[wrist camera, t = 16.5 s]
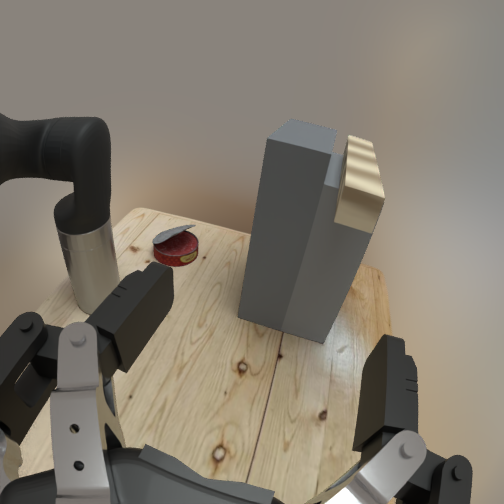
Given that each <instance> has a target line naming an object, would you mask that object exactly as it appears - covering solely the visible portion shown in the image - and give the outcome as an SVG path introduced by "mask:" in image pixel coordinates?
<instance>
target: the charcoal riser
mask: <svg viewBox="0 0 504 504" xmlns="http://www.w3.org/2000/svg"><path fill="white" fill-rule="evenodd" d="M336 133H337V130H334V129H330V128H326V127H322V126H319V125H315V124H311V123H307V122H303V121H299V120H294V119H290V120H289V121H287V122H286V123H285V124H284V125H283V126H281V127H280V128H279V129H278V130H276V131H275V132H274V133H273V134H272V135H270V136H269V137H268V138H267V142H266V148H265V154H264V160H263V166H262V172H261V178H260V184H259V190H258V196H257V203H256V208H255V214H254V220H253V226H252V232H251V238H250V245H249V251H248V257H247V263H246V269H245V275H244V281H243V287H242V293H241V300H240V306H239V312H238V318H241V319H244V320H247V321H250V322H254V323H257V324H260V325H263V326H266V327H269V328H272V329H276V330H279V331H282V332H285V333H289V334H292V335H295V336H299V337H302V338H306V339H309V340H312V341H316V342H319V343H324V341H325V339H326V337H327V335H328V333H329V331H330V329H331V327H332V325H333V323H334V321H335V319H336V317H337V315H338V313H339V310H340V308H341V306H342V304H343V302H344V300H345V297H346V295H347V293H348V291H349V289H350V286H351V284H352V282H353V280H354V277H355V275H356V273H357V270H358V268H359V266H360V263H361V260H362V258H363V256H364V254H365V251H366V249H367V246H368V244H369V241H370V239H371V236H372V234H373V232H372V234H371V233H368V232H365V231H362V230H358V229H355V228H352V227H349V226H346V225H342V224H339V223H336V222H334V219H335V212H336V205H337V198H338V191H339V184H340V176H341V168H342V160H343V155H341V154H337V153H334V152H332V150H333V146H334V142H335V137H336ZM383 205H384V203H383ZM382 207H383V206H382ZM381 210H382V208H381ZM380 213H381V211H380ZM379 216H380V214H379ZM379 216H378V218H379ZM377 221H378V219H377ZM376 223H377V222H376ZM375 226H376V224H375ZM374 229H375V227H374ZM373 231H374V230H373Z"/></svg>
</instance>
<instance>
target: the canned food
mask: <svg viewBox="0 0 504 504" xmlns="http://www.w3.org/2000/svg"><path fill="white" fill-rule="evenodd" d="M193 226H195V225H185V226H180V227H176V228H173V229H169V230H167V231H164V232H161V233H160V234H158V235H157V236H156V237H155V238H154V239H153V245H154V256H155V258H156V260H157V261H159V262H160V263H162V264H164V265H167V266H173V267H179V266H185V265H188V264H190V263H192V262H193V261H194V260H195V259H196V258H197V256H198V243H199V242H198V239H197V237H196V236H195V235H194V234H193V233H191V232H189V231H186V230H187V229H189V228H191V227H193Z"/></svg>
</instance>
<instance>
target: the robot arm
mask: <svg viewBox="0 0 504 504" xmlns="http://www.w3.org/2000/svg"><path fill="white" fill-rule="evenodd" d="M110 168H111V142H110V134H109V129H108V127H107V125H106V123H105V122H104V121H103V120H102V119H100V118H97V117H61V118H53V119H46V120H32V121H17V120H13V119H10V118H8V117H6V116H4V115H3V114H1V113H0V185H1V184H2V183H4V182H5V181H8V180H10V179H15V178H45V179H50V180H58V181H69V182H73V184H74V192H73V193H71V194H69V195H67V196H65V197H64V198H63V199H61V200H60V201H59V202H58V203H57V204H56V206H55V209H54V219H55V223H56V227H57V232H58V236H59V240H60V244H61V248H62V252H63V256H64V259H65V263H66V267H67V271H68V274H69V278H70V281H71V284H72V288H73V291H74V294H75V297H76V300H77V303H78V306H79V307H80V309H81V310H82V311H84V312H85V313H88V314H91V315H90V316H89V318H88V319H87V320H86V321H85V322H75V323H72V324H70V325H68V326H66V327H65V328H61V327H56V326H51V325H46V324H44V321H43V319H42V317H41V316H40V315H39V314H37V313H35V312H26V313H24V314H21V315H19V316H18V317H17V318H16V319H15V320H14V321H13V323H12V324H11V325H10V326H9V327H8V328H7V330H6V331H5V332H4V333H3V335H2V336H1V337H0V504H284V503H283V502H281V501H280V500H278V499H277V498H275V497H273V496H274V493H275V491H272V490H268V489H264V488H260V487H257V486H253V485H250V484H246V483H243V482H233V481H222V480H213V479H207V478H204V477H202V476H201V475H199V474H198V473H196V472H195V471H193V470H192V469H190V468H189V467H188V466H186V465H185V464H183V463H182V462H181V461H179V460H178V459H176V458H175V457H173V456H170V455H168V454H166V453H164V452H161V451H159V450H157V449H155V448H153V447H151V446H149V445H147V444H145V446H144V448H143V449H140V448H126V444H125V439H124V435H123V432H122V429H121V426H120V422H119V418H118V411H117V404H116V396H115V388H114V379H113V374H114V373H115V371H116V370H117V369H119V370H121V371H123V372H125V373H127V372H128V370H129V369H130V367H131V366H132V365H133V363H134V362H135V360H136V359H137V357H138V356H139V354H140V353H141V351H142V350H143V348H144V347H145V345H146V344H147V343H148V341H149V340H150V338H151V337H152V335H153V334H154V332H155V331H156V330H157V328H158V327H159V325H160V324H161V322H162V321H163V320H164V318H165V317H166V315H167V314H168V312H169V311H170V309H171V307H172V304H173V300H174V285H173V269H172V268H171V267H169V266H166V265H163V264H160V263H157V262H151V263H150V264H149V265H148V266H147V268H146V269H145V270H144V271H143V272H142V271H139V270H137V271H135V272H133V273H131V274H129V275H127V276H126V277H125V278H124V279H123V280H122V281H121V282H120V277H119V272H118V266H117V260H116V253H115V247H114V240H113V232H112V225H111V217H110V198H111V169H110ZM29 362H30V364H29ZM28 364H29V365H28ZM27 365H28V366H27ZM26 366H27V368H26ZM25 368H26V369H25ZM24 369H25V371H24ZM23 371H24V372H23ZM22 372H23V373H22ZM21 373H22V375H21ZM20 375H21V376H20ZM19 376H20V378H19ZM18 378H19V379H18ZM17 379H18V380H17ZM16 380H17V382H16ZM417 381H418V380H417V367H416V365H415V363H414V361H413V358H412V356H409V355H405V342H404V340H403V339H401V338H397V337H394V336H390V335H386V334H384V335H383V336H382V337H381V339H380V340H379V342H378V343H377V345H376V346H375V348H374V349H373V351H372V352H371V354H370V355H369V357H368V358H367V360H366V362H365V365H364V368H363V372H362V380H361V390H360V399H359V407H358V415H357V422H356V429H355V436H354V442H353V448H352V451H357V452H362V453H361V459H360V460H359V461H358V462H357V463H356V464H355V465H354V466H352V467H351V468H350V469H349V470H348V471H347V472H346V473H344V474H343V475H342V476H341V477H340V478H339V479H337V480H336V481H335V482H334V483H333V484H331V485H330V486H329V487H328V488H326V489H325V490H324V491H323V492H321V493H320V494H318V495H317V496H315V497H314V498H312V499H310V500H309V501H307V502H306V503H305V504H387V503H388V502H389V501H390V500H391V499H392V498H393V497H395V498H397V499H396V504H470V498H471V487H472V467H471V464H470V462H469V461H468V460H467V459H466V458H465V457H464V456H461V455H454V456H452V457H450V458H448V459H445V458H443V457H441V456H439V455H437V454H435V453H433V452H430V451H429V450H427V449H426V444H425V442H424V440H423V438H422V437H421V436H420V435H419V434H418V394H417V392H418V384H417ZM15 382H16V383H15ZM56 386H57V389H56V390H54V389H55V388H56ZM50 395H51V396H50ZM49 397H50V415H51V436H52V450H53V460H54V469H51V470H48V471H44V472H40V473H37V474H33V475H29V476H25V477H21V478H19V474H18V468H19V467H20V466H21V465H22V463H23V460H22V457H21V450H20V447H19V446H20V444H21V442H22V441H23V439H24V437H25V436H26V434H27V432H28V431H29V429H30V427H31V426H32V424H33V422H34V421H35V419H36V417H37V416H38V414H39V413H40V411H41V409H42V408H43V406H44V405H45V403H46V402H47V400H48V398H49Z"/></svg>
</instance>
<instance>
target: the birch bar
mask: <svg viewBox="0 0 504 504" xmlns="http://www.w3.org/2000/svg"><path fill="white" fill-rule="evenodd" d="M384 200H385V195H384V191H383V186H382V181H381V177H380V173H379V169H378V164H377V161H376V156H375V152H374V149H373V145H372V142H370V141H367V140H364V139H361V138H357V137H354V136H351V135H348V139H347V143H346V147H345V151H344V155H343V160H342V168H341V176H340V184H339V191H338V198H337V205H336V212H335V219H334V222H336V223H339V224H342V225H346V226H349V227H352V228H355V229H358V230H362V231H365V232H368V233H371V234H372V232H373V230H374V227H375V224H376V222H377V219H378V216H379V214H380V211H381V208H382V206H383V203H384Z"/></svg>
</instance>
